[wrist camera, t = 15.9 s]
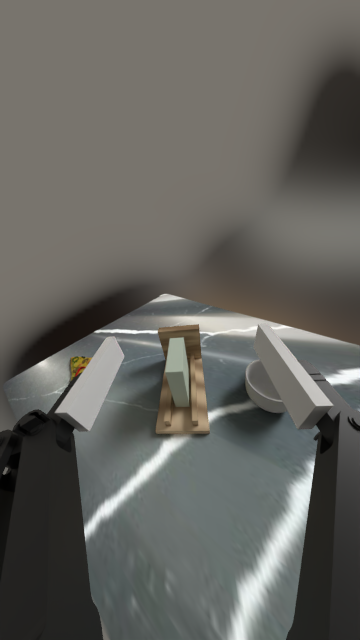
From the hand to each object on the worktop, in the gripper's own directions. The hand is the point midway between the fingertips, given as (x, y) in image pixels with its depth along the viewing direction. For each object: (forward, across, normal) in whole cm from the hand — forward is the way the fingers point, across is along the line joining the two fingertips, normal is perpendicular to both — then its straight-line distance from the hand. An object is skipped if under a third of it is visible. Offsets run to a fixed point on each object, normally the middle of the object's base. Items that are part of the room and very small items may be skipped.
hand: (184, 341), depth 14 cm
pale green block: (+12, -4, -28) cm, 31 cm away
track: (+13, -4, -30) cm, 33 cm away
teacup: (+12, +18, -30) cm, 37 cm away
